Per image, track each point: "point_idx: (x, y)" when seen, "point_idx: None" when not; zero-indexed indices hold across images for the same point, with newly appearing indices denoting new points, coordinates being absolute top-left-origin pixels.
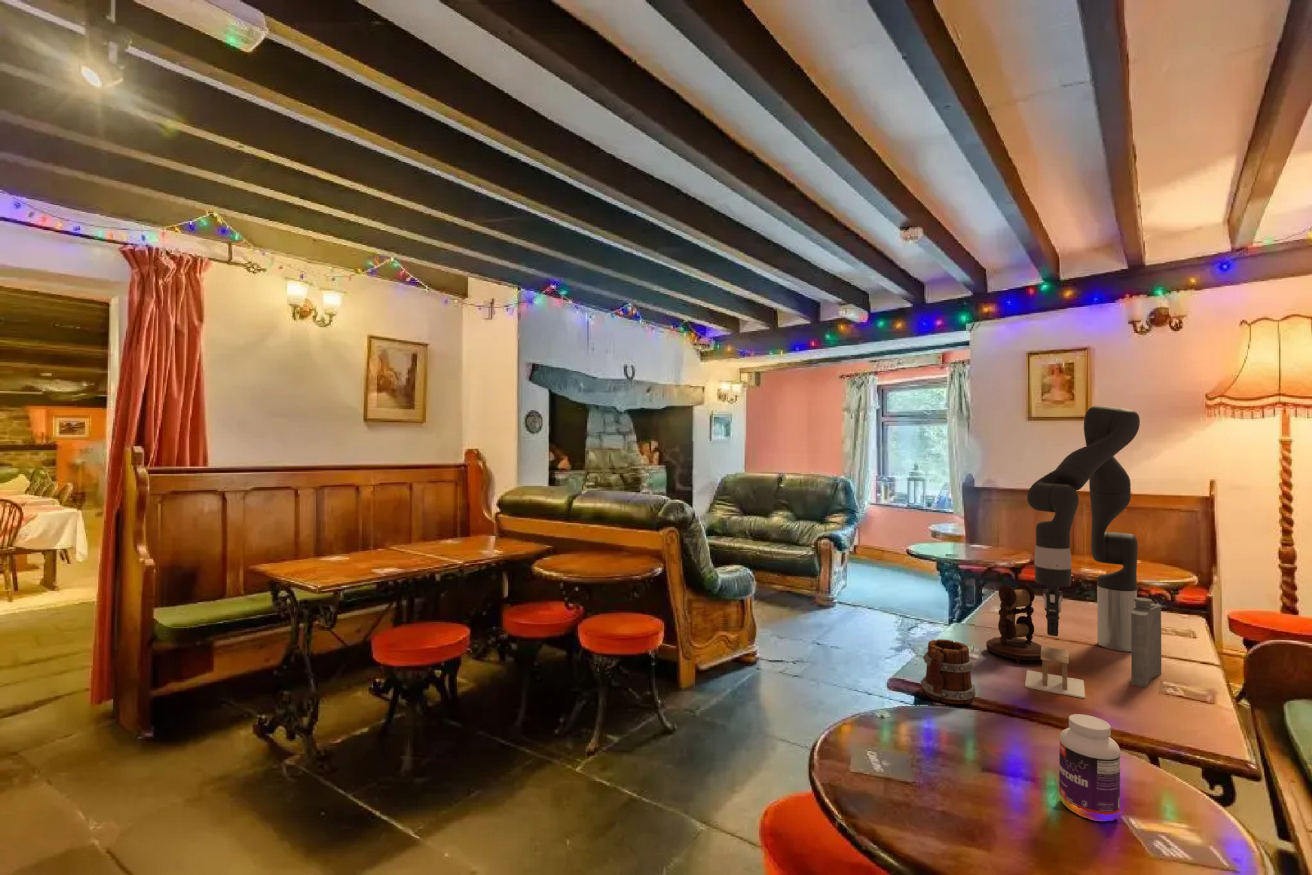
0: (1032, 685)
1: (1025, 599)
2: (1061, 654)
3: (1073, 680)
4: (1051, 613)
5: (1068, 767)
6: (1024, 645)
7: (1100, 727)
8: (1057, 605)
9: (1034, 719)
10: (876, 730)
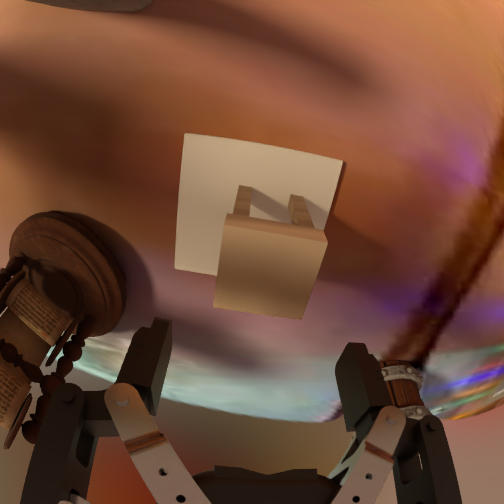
0: None
1: None
2: (297, 260)
3: (203, 162)
4: (156, 396)
5: None
6: (58, 275)
7: None
8: (455, 486)
9: (463, 287)
10: (465, 404)
